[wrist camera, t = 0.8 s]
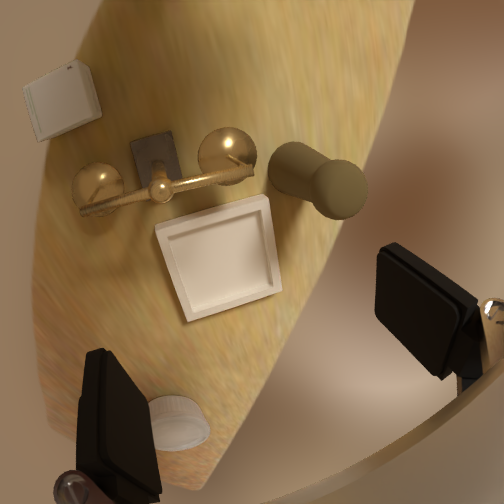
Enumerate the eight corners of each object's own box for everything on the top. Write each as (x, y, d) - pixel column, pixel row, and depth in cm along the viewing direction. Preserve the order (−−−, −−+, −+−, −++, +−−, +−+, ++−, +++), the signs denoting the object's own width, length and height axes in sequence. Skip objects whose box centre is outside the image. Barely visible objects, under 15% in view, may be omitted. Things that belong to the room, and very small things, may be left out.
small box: (38, 89, 21) (20, 86, 17) (89, 64, 22) (78, 56, 18) (53, 139, 24) (36, 145, 20) (104, 116, 25) (95, 117, 21)
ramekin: (171, 434, 48) (175, 457, 43) (123, 411, 42) (125, 437, 37) (217, 407, 47) (225, 431, 43) (170, 380, 41) (175, 407, 37)
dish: (154, 224, 31) (155, 230, 30) (262, 193, 33) (268, 198, 32) (185, 312, 37) (187, 321, 35) (277, 283, 39) (282, 290, 38)
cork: (309, 198, 36) (366, 233, 26) (262, 189, 33) (309, 225, 24) (323, 148, 33) (386, 168, 24) (275, 136, 31) (330, 150, 22)
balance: (71, 162, 26) (28, 195, 15) (233, 115, 29) (281, 119, 18) (89, 217, 28) (62, 276, 18) (244, 170, 32) (293, 205, 21)
